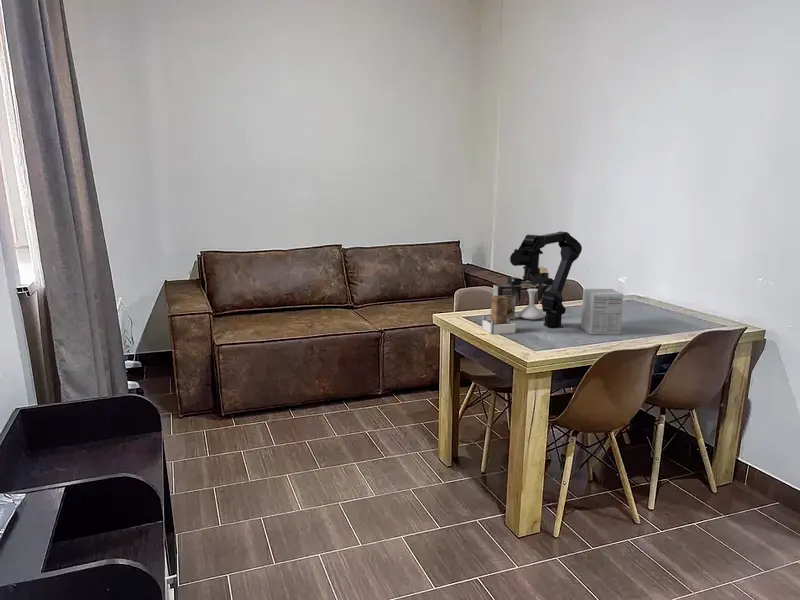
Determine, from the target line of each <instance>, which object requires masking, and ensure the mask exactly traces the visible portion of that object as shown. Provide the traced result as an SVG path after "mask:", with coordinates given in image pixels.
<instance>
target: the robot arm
mask: <svg viewBox="0 0 800 600" xmlns="http://www.w3.org/2000/svg"><path fill="white" fill-rule="evenodd" d="M555 243H557V245H558V247H559V248H560V258H561V260H560V262H559V265H558V267H557V271H556V274H555V276H554V279H553V278H551V277H550V276H549V277H548V273H549V272H548V273H540V268H538V267H539V265H540V255H543V254H544V252H543V251H542V250H541V249H542V248H544V247H545V246H546V245H551V244H555ZM582 250H583V247H582V244H581V243H580V242H579V241H578V240H577V239H576V238H575V237H574V236H571V234H570V232H568V231H560V230H559V231H557V232H552V233H551V232H550V233H546V234H542V235H541V234H540V235H538V234H526V235H525V237H524V238H523V241H522V242H521V244H520V245H519V247H518V248H514V250H513V252H512V253H511V255H510V257H509V262H510V264H511V265H512V266H514V267H519V266H523V267H522V269H523V271H524V272H523V276H522V278H520V277H517V276H510V277H508V278H507V281H506V282H507V284H510V286H512V287H513V289H514V291H515V293H516V300H517V301H518V302H521V293H522V292H521V290H522V284H528V283H530V284H532V285H534V286H536V285H537V286H538V287H537V290H538V291H537V301H538V302H541V303H540V304H541V308H542V313H543V312H544V313H545V315H544V320H543V321H544V323H543V326H545V327H547V328H549V329H554V328H555V329H558V328H563V327H564V326H563V325H562V316H563V315H564V314H565V313H566V311H567V309H566V307H565V306H564V304H563V300H564V299H563V294H562V292H563V291H564V288H565V285H566V281H567V279H568V275H569V273H570V271H571V268H572V265H573V264H574V262H575V261H576V260H577V259H579V256H580V255H581V253H582ZM548 288H549V290H547V289H548ZM546 290H547V291H546Z"/></svg>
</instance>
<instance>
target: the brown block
mask: <svg viewBox="0 0 800 600" xmlns="http://www.w3.org/2000/svg"><path fill="white" fill-rule="evenodd" d="M507 301H508V298H507V297H505V296H493V295H492V296H491V304H490V305H491V307H490V309H491V310H490V319H491V320H494V325H498V324H507Z"/></svg>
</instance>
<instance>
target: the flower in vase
mask: <svg viewBox="0 0 800 600" xmlns="http://www.w3.org/2000/svg"><path fill="white" fill-rule="evenodd" d="M538 268H540V273H548V277H549V278H550V273H549V270H548V269H547V268H546V267H544V266H541V265H540V266H539V267H538ZM527 284H528V285H529V286H531V287H533V288H527V289H526V291H527V292H528V297H529V301H528V302H529V303H528V305H527V306H525V307H524V308H523V309H521V311H519V313H518V317H521V319H525V320H541V319H542V318H543V317H544V313H543V311H542V310H540V309H539V308H538V307H536V305H535V297H536V294H537V293H538V288H536V287H537V286H538V284H536V285H533V284H532V283H527Z"/></svg>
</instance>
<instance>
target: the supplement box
mask: <svg viewBox="0 0 800 600" xmlns="http://www.w3.org/2000/svg"><path fill="white" fill-rule="evenodd" d="M624 295H625V294H623V292H620V291H618V290H615V289H613V288H583V291H582V307H581V323H580V327H581V329H583V330H584V331H585V332H587V333H588V334H589V335H612V336H613V335H614V336H615V335H619V336H620V335H621V330H622V329H621V327H622V317H623V304H624Z"/></svg>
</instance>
